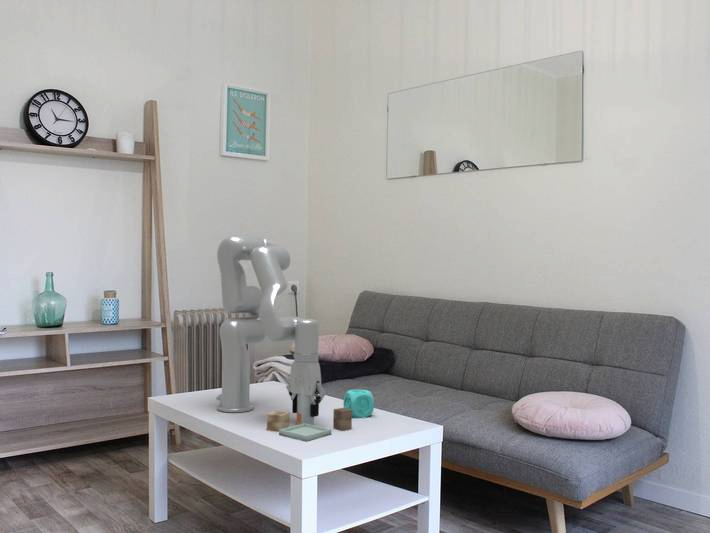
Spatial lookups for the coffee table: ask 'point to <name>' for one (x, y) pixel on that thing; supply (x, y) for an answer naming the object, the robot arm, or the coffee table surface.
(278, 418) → the oak cube
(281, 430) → the tray
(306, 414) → the skincare box
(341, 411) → the walnut block
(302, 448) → the coffee table surface
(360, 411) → the decorative dice
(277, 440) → the coffee table surface
